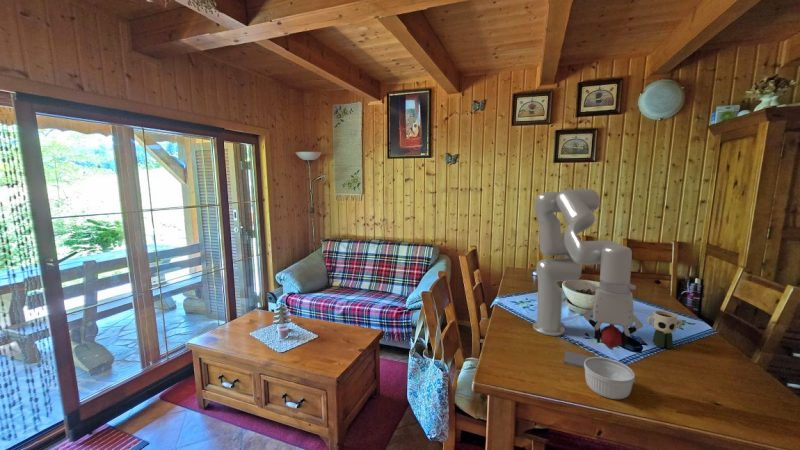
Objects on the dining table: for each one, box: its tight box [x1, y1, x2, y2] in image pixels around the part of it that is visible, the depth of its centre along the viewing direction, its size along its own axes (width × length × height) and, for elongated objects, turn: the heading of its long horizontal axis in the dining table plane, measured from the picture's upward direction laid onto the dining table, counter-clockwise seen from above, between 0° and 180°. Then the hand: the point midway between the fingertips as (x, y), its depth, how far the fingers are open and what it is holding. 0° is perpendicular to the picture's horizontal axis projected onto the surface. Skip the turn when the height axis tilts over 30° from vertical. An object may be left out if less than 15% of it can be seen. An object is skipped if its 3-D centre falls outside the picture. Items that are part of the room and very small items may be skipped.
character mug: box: [646, 309, 683, 349], centre depth 125 cm, size 11×7×13 cm, turn 67°
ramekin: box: [583, 356, 636, 400], centre depth 101 cm, size 13×13×7 cm
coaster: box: [563, 350, 591, 369], centre depth 117 cm, size 8×8×1 cm
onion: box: [600, 324, 623, 349], centre depth 98 cm, size 6×6×8 cm
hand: (610, 343), depth 99 cm, fingers closed on onion, 5 cm apart
